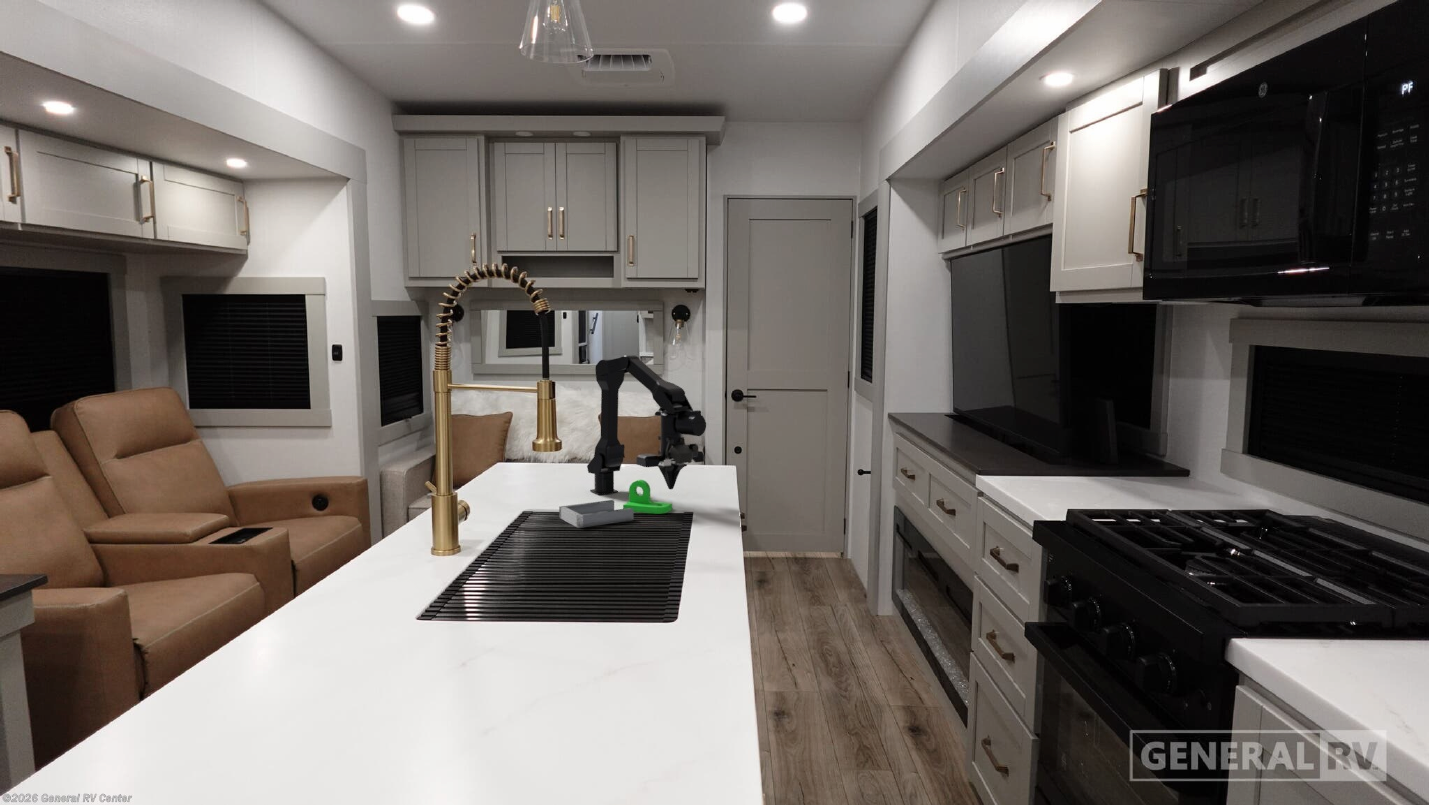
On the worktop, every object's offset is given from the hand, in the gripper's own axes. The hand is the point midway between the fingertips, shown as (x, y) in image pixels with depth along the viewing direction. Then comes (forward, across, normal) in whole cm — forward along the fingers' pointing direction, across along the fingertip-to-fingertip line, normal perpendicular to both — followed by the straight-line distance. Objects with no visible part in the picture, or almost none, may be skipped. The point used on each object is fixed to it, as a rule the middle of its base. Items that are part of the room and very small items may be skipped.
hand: (670, 489), depth 206 cm
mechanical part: (+6, -6, +1) cm, 9 cm away
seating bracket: (+6, -22, 0) cm, 23 cm away
